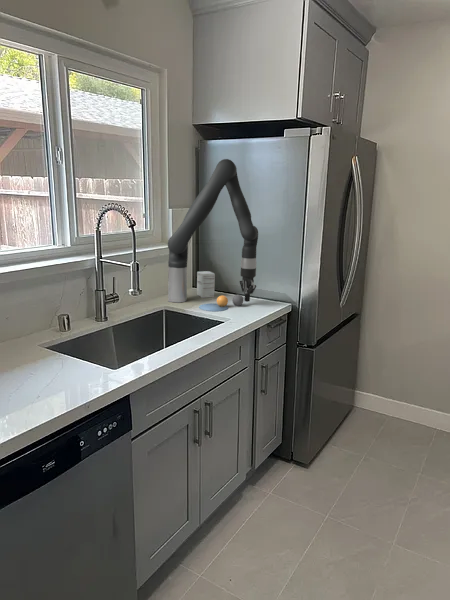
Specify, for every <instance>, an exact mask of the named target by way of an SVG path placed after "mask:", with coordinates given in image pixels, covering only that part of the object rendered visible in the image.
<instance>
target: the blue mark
mask: <svg viewBox="0 0 450 600" xmlns="http://www.w3.org/2000/svg"><path fill="white" fill-rule="evenodd" d="M198 309H199V310H201V309H202V310H201V311H205V310H206V312H224V311H226V310H229V306H227V305H226V306H224V307H220V306H219V305H218V304H217V303H203V304H201V305H199V306H198Z"/></svg>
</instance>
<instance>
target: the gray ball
mask: <svg viewBox="0 0 450 600" xmlns="http://www.w3.org/2000/svg"><path fill="white" fill-rule="evenodd" d="M231 299H232V300H231V301H232V304H233V305H234V306H237V307H239V306H242V305H243V304H244V297H243V296H242V295H241V294H234V295H233V297H232V298H231Z"/></svg>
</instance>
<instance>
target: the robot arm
mask: <svg viewBox="0 0 450 600" xmlns="http://www.w3.org/2000/svg"><path fill="white" fill-rule="evenodd" d="M237 169H238V168H237V165H236V164H235V162H233V160H231V159H229V158H224V159H221V160H220V161H219V162H218V163H216V167H215V168H214V171H213V172H212V174H211V176H210V177H209V179H208V181H207V183H206V184H205V185H204V186H203V188H202V189H201V191H199V193H198V195H197V196H196V197H195V199H194V201H193V202H192V203H191V205H190V207H189V209H188V210H187V212H186V214H185V216H184V218H183V220H182V222H181V224H180V225H179V227H178V228H177V229H176V230H175V232H174V233H173V234H172V236H170V237H169V239H168V242H167V249H168V262H167V263H168V266H167V268H168V271H167V272H168V280H167V281H168V282H167V283H168V285H167V286H168V287H167V288H168V290H167V294H168V296H167V298H168V301H167V302H169V303H170V302H172V303H184V302H187V300H188V297H187V296H188V295H187V294H188V258H189V257H188V255H189V254H188V253H189V251H188V250H189V242H190V241H191V238H192V236H193V235H194V233H195V232H197V230H198V228H199V227H200V226H201V225H202V224H204V221H205V220H206V218H208V216H209V215H210V213H211V212H212V210H213V209H214V207H215V205H216V203H217V200H218V198H219V195H220V193H221V191H222V190H223V189H224V187H226V190H227V193H228V195H229V199H230V203H231V205H232V209H233V211H234V215H235V218H236V220H237V223H238V228H239V233H240V235H241V237H242V238H243V245H242V249H241V260H240V277H242V278H241V280H239V286H240V288H241V292H242V293H243V294H244V297H243V302H246V303H247V302H248V303H249V302H251V301H250V300H251V295H252V294H254V291H255V290H256V288H257V285H256V284H255V283H254V278H255V277H256V275H257V245H258V239H259V230H258V227H256V226H255V225H254V223H253V220H252V214H251V210H250V209H249V205H248V202H247V201H246V198H245V195H244V194H243V191H242V188H241V186H240V182H239V177H238V170H237Z"/></svg>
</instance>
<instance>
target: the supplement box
mask: <svg viewBox="0 0 450 600" xmlns="http://www.w3.org/2000/svg"><path fill="white" fill-rule="evenodd" d="M196 277H197V278H196V295H197V296H199V297H200V298H202V299H204V298H205V299H206V298H214V297H215V288H216V287H215V284H216V282H215V281H216V280H215V279H216V278H215V277H216V275H215V273H214V272H213V271H209V270H207V271H206V270H205V271H204V270H202V271H197V272H196Z"/></svg>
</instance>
